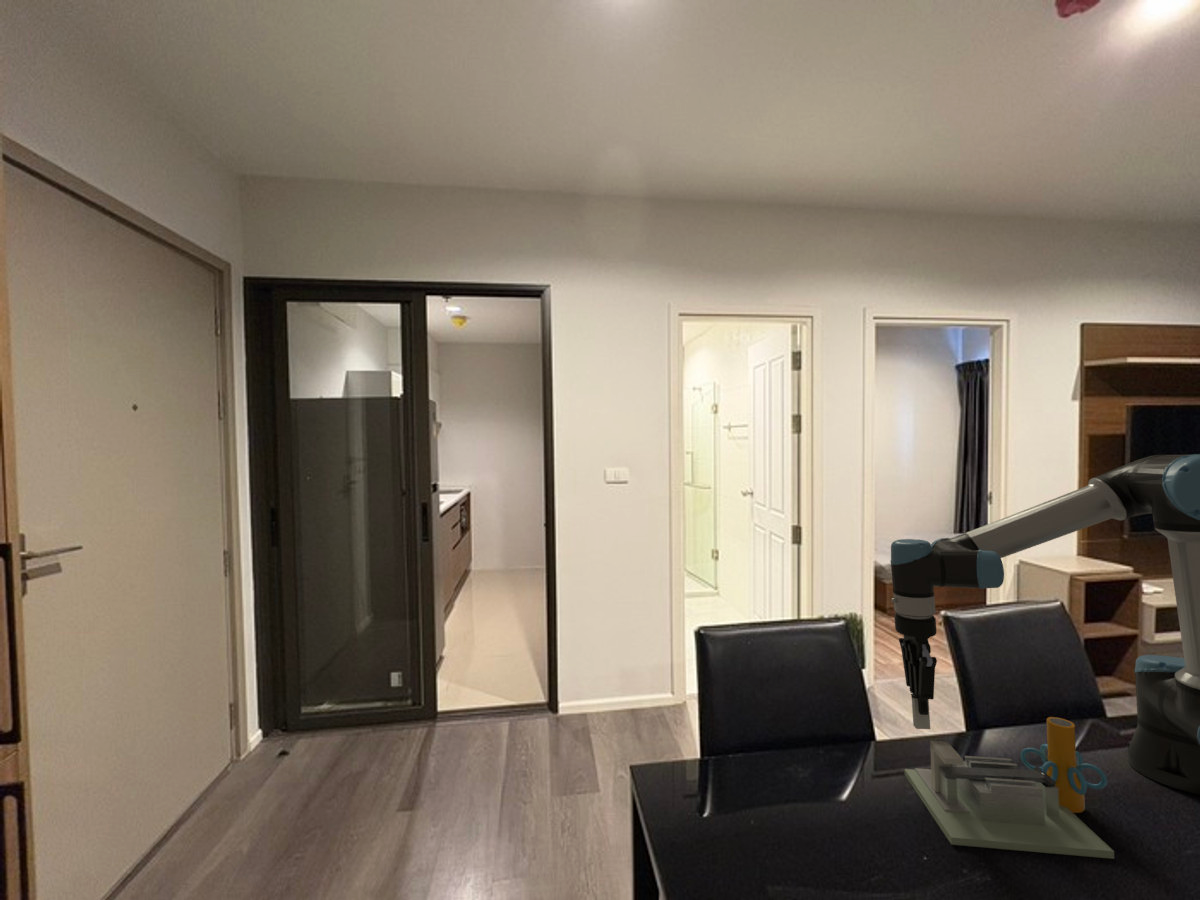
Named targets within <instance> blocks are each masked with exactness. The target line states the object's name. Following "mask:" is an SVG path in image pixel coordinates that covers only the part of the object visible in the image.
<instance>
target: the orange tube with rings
mask: <svg viewBox="0 0 1200 900" xmlns="http://www.w3.org/2000/svg"><path fill="white" fill-rule="evenodd" d="M1046 739H1047V741H1046V742H1047V743H1043V744H1041V745H1040V748H1039V749H1038V748H1035V747H1026V748H1023V749H1022V750H1021V751H1020V759H1021V762H1022V763H1023V764H1024V766H1026V767H1027V769H1028V770H1034V768H1035V767H1036V766H1034V765H1032V764H1031V763H1029V762H1028V760H1027V757H1026V756H1027V755H1028V754H1029V753H1034V754H1037V755H1038V756H1040V757H1041V760H1042V761H1043V762H1042V763H1043V764H1042V765H1041V766H1038V767H1039V768H1040V769H1041V770H1042V771H1043V772H1045V773H1046V774H1047V775H1048V776H1049V777H1050V778H1052V779H1053V780H1054V781H1055V783H1056V784H1055V786H1056V787H1057V788H1058V795H1059V805H1061V806H1064V807H1067V808H1068V809H1069V810H1070V811H1071V812H1072V813H1073V814H1081V813H1084V811H1085V809H1086V808H1085V807H1086V806H1085V801H1086V800H1085V794H1086V793H1087V790H1088V788H1089V789H1093V790H1101V789H1104V788H1105V787H1106V786H1107V785H1108V777H1107V776H1106V773H1105V772H1103V770H1102V769H1101V768H1100V767H1098V766H1096V765H1095V764H1092V763H1086V762H1085V763H1084V758H1083V755H1082V754H1081V753H1080V752H1079V751H1077V749H1076V748H1077V747H1076V746H1077V745H1076V724H1074V723H1073V722H1072V721H1070V720H1067V719H1065V718H1061V717H1054V716H1049V717H1047V718H1046ZM1046 751H1047V755H1046ZM1085 769H1090V770H1093V771H1095V772H1096V773H1098V775H1099V776H1100V778H1101V779H1100V782H1099V783H1096V784H1095V783H1090V782H1089V781H1087V780H1086V778H1085V776H1084V775H1083V773H1082V771H1083V770H1085Z"/></svg>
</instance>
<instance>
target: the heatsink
mask: <svg viewBox="0 0 1200 900" xmlns="http://www.w3.org/2000/svg"><path fill="white" fill-rule="evenodd" d="M952 767H970V768H993V769H1017V770H1019V765H1018V764H1017V763H1014V762H1013V759H1011V758H1005V757H1002V758H1001V757H992V756H991V757H989V756H988V757H987V756H975V755H974V756H972V755H971V756H970V755H964V760H963V765H957V764H952ZM984 779H985V780H977V779H955V778H945V777H944V776H943V775H942V773H941V772H940V795H941V796H942V797H943V799H944V800H945V801H946V803H947V804H948V805H957V791H958V793H959V794H960V795H961V796H962V798H963V799H964V800H965V802H966V803H967V804H968V805H969V807H970V808H971V809H972V810H973V812H974V813H975V814H976V815H977V817H978V818H979V819H980V820H981V821H986V822H999V823H1011V824H1023V825H1036V826H1045V815H1046V816H1057V817H1059V795H1058V788H1057V787H1056V786H1053V787H1051V786H1049V785H1048V784H1047V783H1043V782H1035V781H1027V780H1012V779H997V778H984Z"/></svg>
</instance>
